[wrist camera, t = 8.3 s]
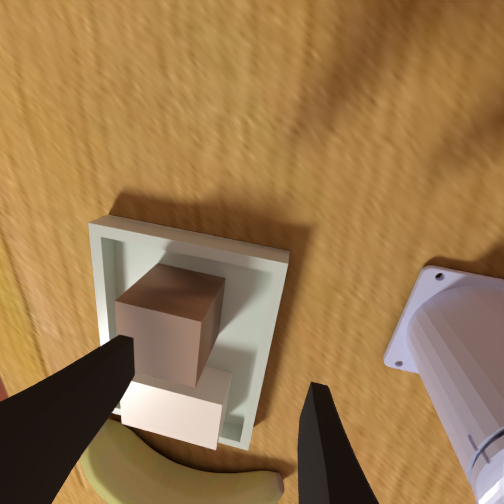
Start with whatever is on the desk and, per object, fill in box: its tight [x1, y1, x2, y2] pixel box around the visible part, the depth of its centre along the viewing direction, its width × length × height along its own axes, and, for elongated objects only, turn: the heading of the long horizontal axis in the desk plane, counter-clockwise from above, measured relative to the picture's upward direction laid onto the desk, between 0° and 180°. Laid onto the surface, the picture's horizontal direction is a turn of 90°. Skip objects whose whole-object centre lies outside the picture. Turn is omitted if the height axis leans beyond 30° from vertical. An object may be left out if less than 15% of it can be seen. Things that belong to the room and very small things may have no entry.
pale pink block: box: [120, 366, 232, 450], centre depth 23 cm, size 8×5×3 cm, turn 82°
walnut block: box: [115, 263, 226, 388], centre depth 19 cm, size 5×5×5 cm
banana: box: [81, 419, 284, 504], centre depth 28 cm, size 14×6×20 cm
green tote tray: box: [88, 215, 290, 451], centre depth 22 cm, size 13×18×2 cm
